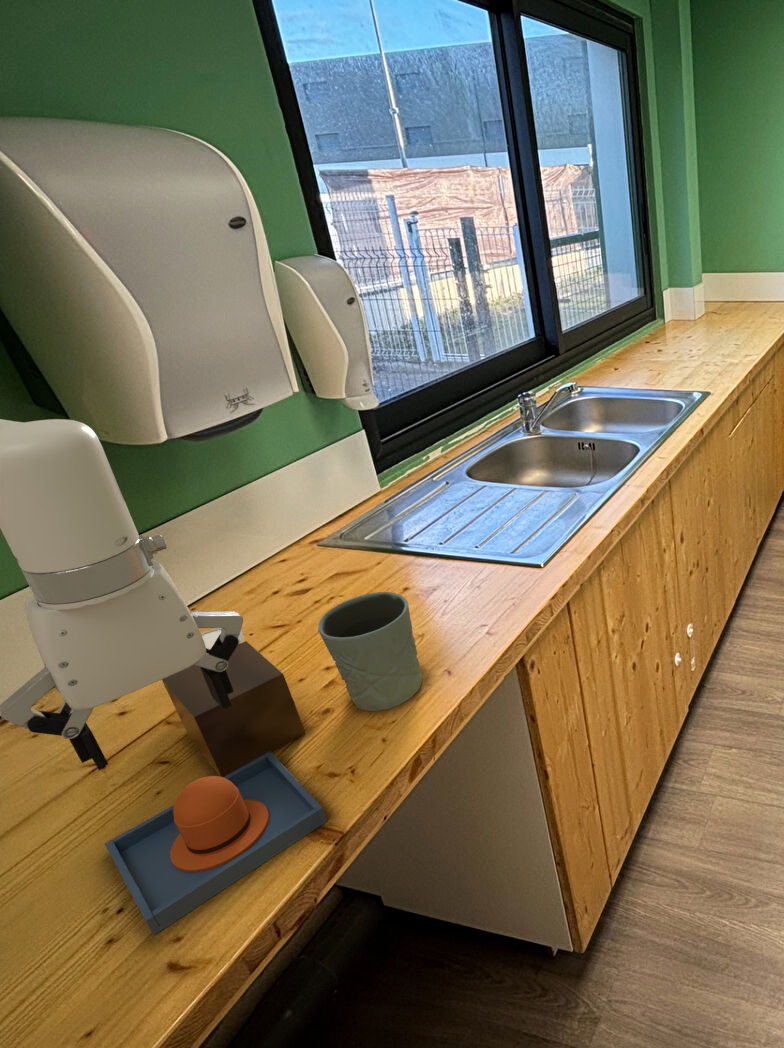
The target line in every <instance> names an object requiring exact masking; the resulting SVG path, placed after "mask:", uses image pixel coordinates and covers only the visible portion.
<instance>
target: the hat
mask: <svg viewBox="0 0 784 1048" xmlns="http://www.w3.org/2000/svg"><path fill="white" fill-rule="evenodd" d="M173 805H174V808H173V814H174V822H175V824H176V826H177V828H178V830H179V832H180V834H179V836H178V837H177V838H176V840H175V842H174V843H173V845H172V848H171V852H170V858H171V861H172V863H173V865H174V866H175V867H176V868H177V869H179V870H181V871H184V872H202V871H207V870H211V869H214V868H217V867H219V866H222V865H224V864H226V863H228V862H230V861H232V860H233V859H235V858H237V857H238V856H240V855H241V854H243V853H244V852H245V851H247V850H248V849H249V848H250V847H251V846H253V845H254V844H255V843H256V842H257V841H258V839H259V838H260V837H261V836H262V834H263V833H264V831H265V829H266V827H267V825H268V822H269V812H268V810H267V808H266V806H265V805H264V804H262V803H261V802H259V801H256V800H243V799H242V796H241V794H240V792H239V790H238V788H237V787H236V786H235V785H234V784H233V783H232V782H231V781H230V780H228V779H226V778H223V777H220V775H207V776H203V777H200V778H197V779H195V780H193V781H192V782H190V783H189V784H187V785H186V786H185V787H183V789H182V790H181V791H180V792H179V793H178V795H177V797H176V799H175V801H174V804H173Z"/></svg>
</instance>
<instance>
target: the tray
mask: <svg viewBox="0 0 784 1048" xmlns="http://www.w3.org/2000/svg"><path fill="white" fill-rule="evenodd" d="M223 778H226V779H228V780H230V781H231V782H232V783H233V784H234V785H235V786H236V787H237V788H238V790H239V792H240V794H241V796H242V799H243V800H256V801H259V802H261V803H262V804H264V805H265V806H266V808H267V810H268V812H269V822H268V825H267V827H266V829H265V831H264V833H263V834H262V836H261V837H260V838H259V839H258V841H257V842H256V843H255V844H254V845H253V846H251V847H250V848H249V849H248V850H247V851H245V852H244V853H243V854H241V855H240V856H238V857H237V858H235V859H233V860H232V861H230V862H228V863H226V864H224V865H222V866H219V867H217V868H214V869H211V870H207V871H202V872H184V871H181V870H179V869H177V868H176V867H175V866H174V865H173V863H172V861H171V858H170V852H171V848H172V845H173V843H174V842H175V840H176V838H177V837H178V836H179V834H180V832H179V830H178V828H177V826H176V824H175V822H174V814H173V808H174V804H173V805H171V806H169V807H167V808H166V809H164V810H162V811H160V812H158V813H157V814H155V815H153V816H151V817H149V818H148V819H146V820H144V821H142V822H141V823H139V824H137V825H135V826H133V827H131V828H130V829H127V830H126V831H124V832H123V833H120V834H119V835H117V836H115V837H113V838H112V839H110V840H108V841H106V842H105V843H104V846H105V847H106V850H107V851H108V853H109V855H110V857H111V859H112V861H113V862H114V864H115V867H116V868H117V871H118V872H119V874H120V876H121V878H122V879H123V881H124V883H125V885H126V888H127V889H128V891H129V892H130V894H131V896H132V898H133V901H134V902H135V904H136V906H137V908H138V910H139V912H140V913H141V915H142V918H143V919H144V921H145V922H146V924H147V926H148V927H149V929H150V931H151V933H152V935H153V936H155V935H157V934H158V933H160V932H162V931H163V930H165V929H166V928H168V927H169V926H170V925H172V924H173V923H175V922H177V921H178V920H180V919H181V918H182V917H184V916H186V915H187V914H189V913H191V912H192V911H194V910H195V909H196V908H198V907H199V906H201V905H203V904H204V903H205V902H207V901H208V900H210V899H212V898H213V897H215V896H216V895H217V894H220V893H221V892H222V891H224V890H225V889H227V888H229V887H230V886H231V885H233V884H235V883H236V882H237V881H239V880H240V879H242V878H244V877H245V876H246V875H248V874H250V873H251V872H253V871H254V870H256V869H258V868H259V867H260V866H262V865H263V864H265V863H267V862H268V861H269V860H271V859H273V858H274V857H276V856H278V854H280V853H282V852H284V851H285V850H286V849H287V848H289V847H291V846H292V845H294V844H295V843H297V842H299V841H300V840H301V839H303V838H305V837H306V836H308V835H309V834H311V833H312V832H313V831H315V830H317V829H319V827H321V826H323V825H324V824H326V823H327V822H328V821H329V820H328V818H327V815H326V813H325V810H324V808H323V806H322V805H321V804H320V803H319V802H318V801H317V799H315V798H314V796H313V795H311V793H310V792H309V791H308V790H307V789H306V788H305V787H304V786H303V784H301V783H300V782H299V780H298V779H296V777H295V776H294V775H293V774H292V773H291V772H290V771H289V770H288V769H287V767H285V766H284V765H283V763H282V762H281V761H280V760H279V759H278V758H277V756H276V755H274V754H273V752H270V751H269V752H268V753H266V754H265V755H262V756H261V757H259V758H257V759H255V760H253V761H252V762H250V763H248V764H246V765H245V766H243V767H241V768H239V769H237V770H236V771H234V772H232V773H230V774H228V775H227V776H225V777H223Z"/></svg>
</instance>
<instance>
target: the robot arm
mask: <svg viewBox="0 0 784 1048" xmlns="http://www.w3.org/2000/svg"><path fill="white" fill-rule="evenodd" d="M0 531H1V533H2V535H3V537H4V538H5V541H6V543H7V545H8V547H9V549H10V550H11V553H12V555H13V556H14V558H15V560H16V563H17V564H18V566H19V568H20V570H21V572H22V574H23V576H24V577H25V581H26V582H27V584H28V587H29V588H30V590H31V592H32V594H33V595H31V596H30V597H28V599H26V601H24V602H25V603H24V607H25V608H24V609H25V614H26V619H27V622H28V626H29V629H30V633H31V635H32V638H33V641H34V644H35V647H36V648H37V651H38V654H39V656H40V658H41V660H42V663H43V665H44V667H43V668H42V669H41V670H39V671H38V672H37V673H36V674H35V675H34V676H33V677H31V678H29V680H28V681H26V682H25V683H24V684H23V685H22V686H21V687H20V688H18V689H17V690H16V691H15V692H13V693H12V694H11V695H10V696H9V697H8V698H6V699H5V700H4V701H3V702H2V703H1V704H0V718H1V719H3V720H6V721H7V722H10V723H12V724H14V725H17V726H19V727H22V728H25V729H28V730H29V731H30V732H31V733H34V734H42V735H52V736H58V737H59V736H60V737H62V738H63V739H64V740H69V742H70V744H71V746H72V747H73V749H74V751H75V753H76V755H77V756H78V759H79V760H80V763H82V764H84V763H85V762H89V761H90V760H92V761H93V763H94V765H95V767H96V768H97V770H98V771H100V770H103V769H105V768H107V766H108V765H109V762H108V760H107V759H106V756H105V755H104V752H103V751H102V749H101V747H100V745H99V743H98V741H97V738H96V737H95V735H94V733H93V731H92V730H91V728H90V726H89V725H88V723H87V722H88V719H89V718H90V715H91V714H92V712H93V710H94V709H95V708H98V707H100V706H103V705H106V704H108V703H111V702H113V701H116V700H117V699H120V698H123V697H125V696H127V695H129V694H133V693H134V692H137V691H139V690H141V689H143V688H146V687H148V686H150V685H153V684H155V683H157V682H159V681H162V679H164V678H166V677H169V676H171V675H173V674H175V673H178V672H180V671H182V670H184V669H186V668H188V667H191V666H192V665H196V666H200V668H201V671H202V673H203V676H204V678H205V681H206V683H207V686H208V688H209V690H210V693H211V695H212V697H213V699H214V700H215V701H216V702H217V703H218V704H219V705H220V706H221V708H222V709H224V708H225V709H227V708H229V707H231V706H232V705H231V702H230V700H229V697H228V694H230V693H232V692H234V690H233V688H232V685H231V683H230V680H229V677H228V675H227V672H226V669H227V667H228V660H229V658H230V657H231V655H232V654H233V652H234V650H235V649H236V647H237V645H238V643H239V640H238V637H239V635H240V632H241V629H242V627H243V624H244V617H243V616H242V615H241V614H240V613H239V612H237V611H230V610H229V611H228V610H227V611H226V610H225V611H191V610H190V609H189V607H188V605H187V603H186V601H185V599H184V597H183V596H182V594H181V593H180V591H179V590H178V588H177V586H176V584H175V583H174V581H173V580H172V578H171V576H170V575H169V573H168V572H167V570H166V569H165V568H164V566H163V565H162V564H161V563H160V562H159V561H158V560H157V559H154V555H156V554H158V552H161V551H164V550H167V549H168V548H167V544H166V542H165V540H164V538H163V537H162V535H161V534H158V535H155V536H151V537H150V536H147V537H144V536H143V535H139V532H138V530H137V527H136V525H135V523H134V520H133V517H132V516H131V513H130V510H129V508H128V506H127V503H126V501H125V498H124V496H123V494H122V491H121V489H120V486H119V484H118V481H117V480H116V477H115V475H114V472H113V469H112V467H111V464H110V462H109V460H108V457H107V454H106V452H105V450H104V447H103V445H102V443H101V440H99V437H98V435H97V434H96V433H95V430H93V428H92V427H90V426H89V425H87V424H85V423H84V422H81V421H79V420H78V421H77V420H75V419H64V418H62V419H60V418H53V419H39V420H32V421H25V422H23V421H16V420H15V421H14V420H9V419H3V418H2V419H1V418H0ZM215 628H221V634H220V635H219V637H218V638H217V640H216V641H215V643H214V645H213V646H212V648H208V647H206V646H205V643H204V640H203V638H202V635H201V633H202V632H201V631H200V629H215ZM53 688H55V689H56V691H57V692H58V693H59V694H60V696H61V697H62V699H63V702H62V703H61V706H60V707H59V709H58V711H57V712H53V711H44V710H38V709H35V708H33V706H34V705H35V704H36V703H37V702H39V700H40V699H42V698H43V697H44V696H46V695H47V694H48V693H49V692H50V691H51V690H52V689H53Z"/></svg>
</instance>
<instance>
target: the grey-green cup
mask: <svg viewBox="0 0 784 1048" xmlns="http://www.w3.org/2000/svg"><path fill="white" fill-rule="evenodd" d="M317 630H318V633H319V635H320V637H321V639H322V641H323V643H324V645H325V646H326V649H327V651H328V653H329V655H330V656H331V658H332V661H334V664H335V667H336V670H337V671H338V673H339V675H340V677H341V680H342V681H344V683H345V688H346V691H347V693H348V694H349V697H350V699H351V701H352V703H353V704H354V706H355V707H357V708H358V709H359V710H362V711H366V712H379V711H385V710H390V709H392V708H396V707H398V706H401V705H402V704H403V703H406V702H407V701H410V699H411V698H413V697H414V696H415V694H417V692H418V691H419V690H420V688H421V686H422V683H423V674H422V670H421V664H420V661H419V659H418V656H417V655H418V650H417V646H416V638H415V637H414V635H413V634H414V632H413V624H412V619H411V613H410V607H409V601H408V600H407V598H406V597H405V596H403V595H402V594H400V593H396V592H392V591H391V592H389V591H379V592H378V591H377V592H370V593H365V594H361V595H359V596H358V595H357V596H355V597H352V598H349V599H347V600H344V601H342V602H341V603H338V604H337V605H335V606H334V607H332V608H331V609H330V610H328V611H327V612H325V614H323V615H322V616H321V618H320V620H319V621H318V625H317Z"/></svg>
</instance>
